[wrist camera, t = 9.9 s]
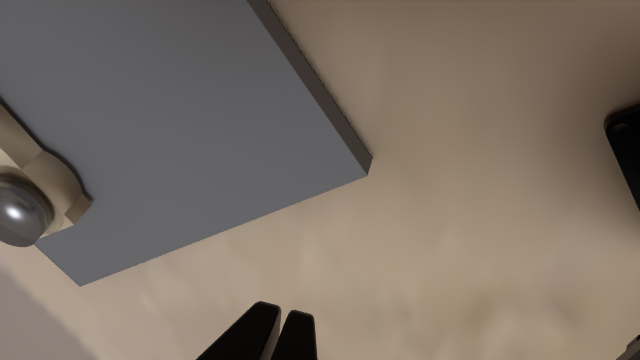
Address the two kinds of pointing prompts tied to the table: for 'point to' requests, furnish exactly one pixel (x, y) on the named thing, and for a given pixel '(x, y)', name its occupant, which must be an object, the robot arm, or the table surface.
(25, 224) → the keeper
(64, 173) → the link
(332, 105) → the base board
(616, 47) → the table surface
